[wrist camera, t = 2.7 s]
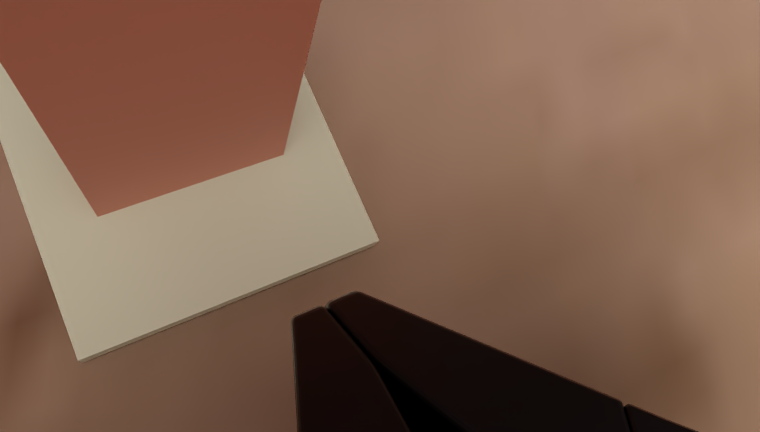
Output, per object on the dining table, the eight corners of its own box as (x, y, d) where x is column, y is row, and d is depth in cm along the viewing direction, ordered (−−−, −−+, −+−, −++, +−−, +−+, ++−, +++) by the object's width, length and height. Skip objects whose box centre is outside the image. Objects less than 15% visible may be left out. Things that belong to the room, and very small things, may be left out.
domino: (283, 154, 18) (351, -124, 9) (97, 216, 16) (-65, -42, 7) (261, 104, 18) (304, -219, 9) (76, 160, 17) (-107, -161, 7)
